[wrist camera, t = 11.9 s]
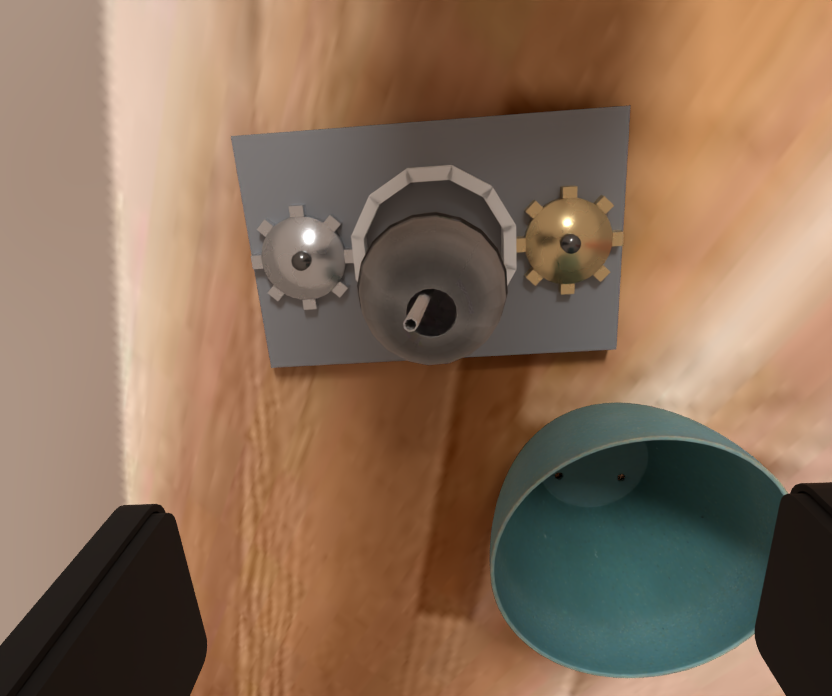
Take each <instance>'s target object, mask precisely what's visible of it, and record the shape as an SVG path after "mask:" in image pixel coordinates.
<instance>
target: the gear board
mask: <svg viewBox="0 0 832 696" xmlns="http://www.w3.org/2000/svg"><path fill="white" fill-rule="evenodd" d="M629 122H630V105H629V106H616V107H603V108H590V109H577V110H565V111H552V112H539V113H526V114H513V115H500V116H487V117H474V118H461V119H448V120H435V121H422V122H409V123H396V124H383V125H370V126H358V127H345V128H332V129H319V130H306V131H293V132H280V133H267V134H254V135H241V136H231V140H232V146H233V151H234V157H235V163H236V168H237V174H238V180H239V186H240V191H241V197H242V203H243V208H244V214H245V220H246V226H247V231H248V237H249V243H250V249H251V254H252V255H253V254H258V253H262V246H263V243H264V240H265V238H266V237H265V236H264V235H263V234H261V233H260V232H259V231H258V230H257V229H258V227H259V226H260V225H261V223H262V222H263V221H264V219H266V218H269V219H270V220H271V221H273V222H274V223H275V224H278V223H280V222H281V221H283V220H285V219H287V218H289V217H290V212H289V206H291V205H299V204H305V208H306V215H307V216H312V217H316V218H319V219H321V220H323V221H325V220H326V219H327V218H328V216H329V215H330V214H331V213H332V214H333V215H334V216H336V217H337V218H338V219H339V220H340V221H341V222H342V223H341V225H340V226H339V227H338V228H337V230H336V232H337V233H338V234H339V236H340V238H341V239H342V241H343V244H344V247H345V248H350V247H352V250H353V259H354V263H346V267H345V271H344V274H343V276H342V278H341V279H343V280H344V281H345V282H346V283H348V284H349V285H350V286H349V287H348V289H347V290H346V291H345V292H344V293H343V295H342V296H341V297H338V296H337V295H336V294H335V293H333V292H332V291H330V292H329V293H328V294H326V295H324V296H322V297H320V298H318V303H319V306H318V308H317V309H309V310H304V308H303V301H302V299H296V298H293V297H290V296H288V295H286V294H284V295H283V296H282V298H281V299H280V300H279V301H277V300H276V299H274V298H273V297H272V296H270V295H269V294H268V292H269V290H270V289H271V288H272V287H273V284H272V283H271V281H270V280H269V278H268V277H267V275H266V273H265V271H264V268H263V269H254V271H255V277H256V283H257V289H258V294H259V300H260V306H261V311H262V317H263V323H264V329H265V334H266V340H267V346H268V352H269V357H270V363H271V368H275V367H294V366H313V365H331V364H350V363H369V362H388V361H406V360H405V359H403V358H401V357H399V356H397V355H396V354H394V353H392V352H390V351H388V350H387V349H386V348H385V347H384V346H383V345H382V344H381V343H380V342H379V341H378V340H377V339H376V338H375V337H374V336H373V334H372V332H371V330H370V329H369V327H368V325H367V323H366V321H365V319H364V317H363V314H362V310H361V308H360V301H359V295H358V288H357V283H358V277H359V271H360V265H361V261H362V260H363V258H364V256H365V254H366V252H367V250H368V248H369V247H370V245H371V243H372V241H373V240H374V239H376V238H377V237H378V236H379V235H380V234H381V233H382V232H383V231H384V230H385V229H386V228H387V227H388V226H389V225H391V224H393V223H396V222H398V221H400V220H402V219H404V218H407V217H409V216H411V215H416V214H423V213H428V212H440V213H445V214H449V215H452V216H456V217H461V218H463V219H464V220H466V221H468V222H469V223H471V224H473V225H474V226H476V227H478V228H480V229H481V230H482V231H483V232H484V233H485V234H486V235H487V236H488V238H489V239H490V240H491V241H492V242H493V243H494V244H495V246H496V247H497V248H498V250H499V253H500V255H501V258H502V260H503V263H504V265H505V268H506V270H507V288H508V294H507V298H506V302H505V305H504V309H503V313H502V316H501V318H500V321H499V323H498V325H497V326H496V328H495V329H494V331H493V332H492V334H491V336H490V337H489V339H488V340H487V341H486V342H485V343H484V344H483V345H481V346H480V347H479V348H478V349H476V350H475V351H474V352H473V353H472V354H470V355H468V356H466V357H481V356H500V355H519V354H537V353H556V352H575V351H593V350H612V349H616V345H617V328H618V311H619V294H620V277H621V259H622V246H612V247H611V251H610V253H609V256H608V258H607V260H606V261H605V263H604V264H603V265H604V266H605V267H606V268H607V269H608V270H609V271H610V273H609V274H608V275H607V276H606V277H605V278H604V279H603V280H602V281H601V282H600V281H599V280H598V279H597V278H596V277H595V276H593V275H592V276H591V277H589V278H587V279H585V280H583V281H580V282H577V283H575V291H574V294H563V295H561V294H560V293H559V292H558V291H559V284H558V283H554V282H551V281H548V280H546V279H544V278H543V277H542V278H543V279H542V280H541V281H540V282H539V283H538V284H537V285H536V286H535V285H534V284H533V283H532V282H531V281H529V280H528V279H527V278H526V277H525V275H524V274H525V273H526V272H527V271H528V270H529V269H530V268H531V267H532V266H531V265H530V263H529V261H528V259H527V257H526V254H525V252H517V253H516V237H519V236H525V231H526V228H527V226H528V224H529V221H530V220H531V218H532V217H531V216H530V215H529V214H528V213H527V212H525V211H524V209H525V208H526V207H527V206H528V205H529V204H530V203H531V202H532V201H533V200H535V201H537V202H538V203H539V204H540V205H541V206H542V207H543V206H544V205H545V204H547V203H549V202H550V201H553V200H555V199H559V198H560V186H571V185H575V186H578V188H577V198H581V199H585V200H587V201H589V202H592V203H594V202H595V200H596V199H597V198H598V197H599V196H600V195H603V196H605V197H606V198H607V199H608V200H609V201H610V202H611V203H612V204H613V205H614V206H613V207H612V208H611V209H610V210H609V211H608V212H607V213H606V214H605V215H606V216H607V218H608V220H609V222H610V225H611V228H612V230H621V231H623V225H624V208H625V191H626V173H627V156H628V139H629ZM532 268H533V267H532Z"/></svg>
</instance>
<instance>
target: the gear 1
mask: <svg viewBox="0 0 832 696" xmlns="http://www.w3.org/2000/svg"><path fill="white" fill-rule="evenodd" d="M289 212H290V217H289V218H287V219H285V220H283V221H281V222H280V223H278V224H275V223H274V222H273V221H271V220H270V219H269V218H266V219H264V221H263V222H262V223H261V225H260V226H259V227H258V229H257V230H258V231H259V232H260V233H261V234H263V235H264V236H265V237H266V238H265V240H264V243H263V246H262V253H258V254H253V255H252V256H251V261H252V266H253V269H263V268H264V271H265V273H266V275H267V277H268V278H269V280H270V281H271V283H272V284H273V287H272V288H271V289H270V290H269V292H268V294H269V295H270V296H272V297H273V298H274V299H276V300H277V301H279V300H280V299H281V298H282V296H283V295H284V294H286V295H288V296H290V297H293V298H296V299H302V301H303V308H304V310H309V309H317V308H318V306H319V303H318V298H320V297H322V296H324V295H326V294H328V293H329V292H330V291H332V292H333V293H335V294H336V295H337V296H338V297H341V296H342V295H343V293H344V292H345V291H346V290H347V289H348V287H349V286H350V285H349V284H348V283H346V282H345V281H344V280H343V279H341V278H342V276H343V274H344V271H345V267H346V263H354V259H353V250H352V247H350V248H345V247H344V244H343V241H342V239H341V238H340V236H339V234H338V233H337V232H336V230H337V228H338V227H339V226H340V225H341V223H342V222H341V221H340V220H339V219H338V218H337V217H336V216H334V215H333V214H332V213H331V214H330V215H329V216H328V218H327V219H326V220H325V221H323V220H321V219H319V218H316V217H312V216H307V215H306V208H305V204H299V205H291V206H289Z"/></svg>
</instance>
